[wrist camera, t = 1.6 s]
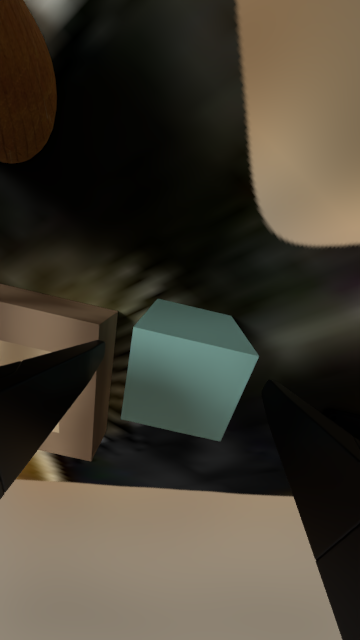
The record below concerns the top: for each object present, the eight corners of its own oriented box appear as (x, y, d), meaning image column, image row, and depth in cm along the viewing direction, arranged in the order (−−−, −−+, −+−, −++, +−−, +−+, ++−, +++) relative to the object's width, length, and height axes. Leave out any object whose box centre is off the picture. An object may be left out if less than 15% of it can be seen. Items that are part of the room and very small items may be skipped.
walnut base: (117, 311, 12) (99, 324, 9) (106, 431, 16) (91, 461, 13) (-57, 270, 11) (-121, 273, 9) (-22, 402, 16) (-60, 428, 13)
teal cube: (231, 315, 11) (259, 355, 7) (209, 375, 13) (220, 441, 8) (157, 298, 11) (133, 327, 6) (146, 360, 13) (120, 419, 8)
